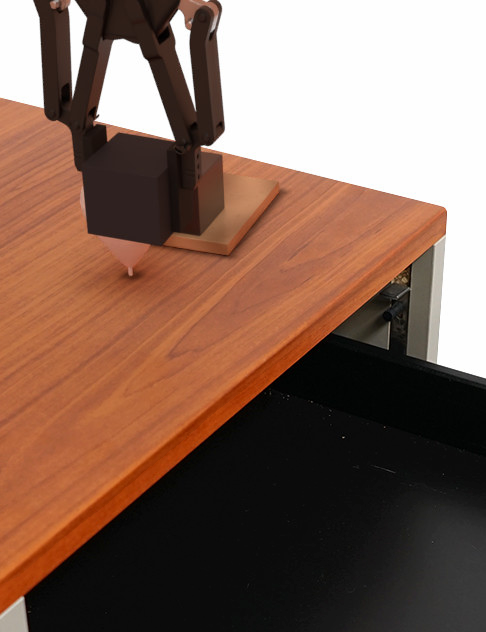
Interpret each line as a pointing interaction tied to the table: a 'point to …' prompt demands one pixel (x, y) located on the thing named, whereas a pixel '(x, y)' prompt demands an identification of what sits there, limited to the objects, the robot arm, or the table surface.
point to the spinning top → (120, 245)
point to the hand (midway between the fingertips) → (141, 218)
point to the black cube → (129, 190)
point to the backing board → (223, 208)
